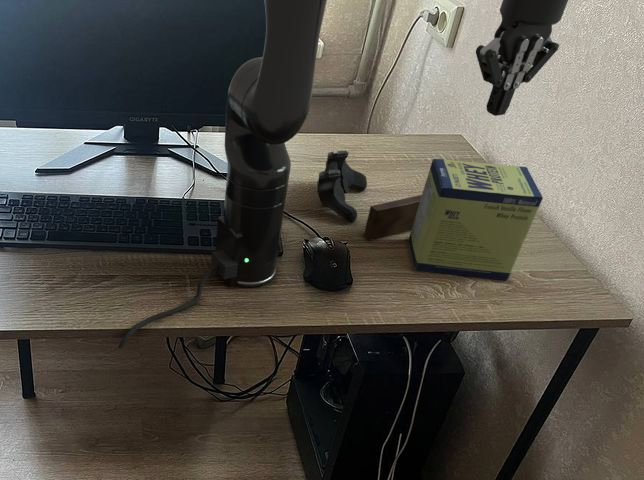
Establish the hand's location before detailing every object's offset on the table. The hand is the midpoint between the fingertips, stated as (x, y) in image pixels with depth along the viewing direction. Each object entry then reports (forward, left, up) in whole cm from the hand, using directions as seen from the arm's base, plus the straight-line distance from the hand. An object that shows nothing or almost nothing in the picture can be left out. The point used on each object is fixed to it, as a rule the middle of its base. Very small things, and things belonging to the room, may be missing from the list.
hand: (495, 113), depth 98 cm
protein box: (+5, +2, -28) cm, 28 cm away
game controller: (-2, +27, -28) cm, 38 cm away
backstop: (+5, +14, -27) cm, 31 cm away
